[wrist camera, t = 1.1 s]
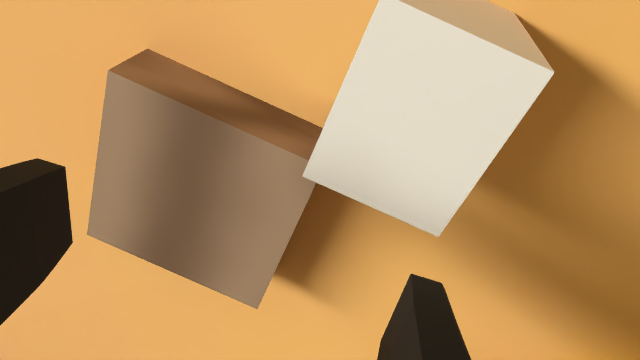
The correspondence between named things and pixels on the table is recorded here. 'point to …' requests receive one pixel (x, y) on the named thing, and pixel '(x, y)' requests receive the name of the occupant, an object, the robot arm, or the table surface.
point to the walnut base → (198, 175)
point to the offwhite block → (427, 107)
